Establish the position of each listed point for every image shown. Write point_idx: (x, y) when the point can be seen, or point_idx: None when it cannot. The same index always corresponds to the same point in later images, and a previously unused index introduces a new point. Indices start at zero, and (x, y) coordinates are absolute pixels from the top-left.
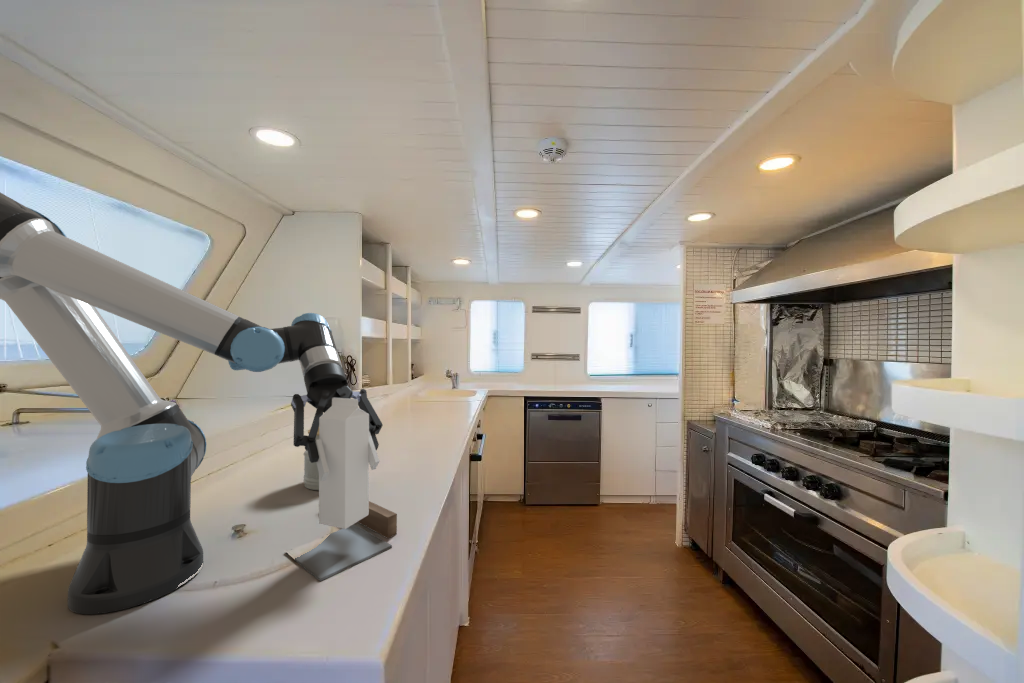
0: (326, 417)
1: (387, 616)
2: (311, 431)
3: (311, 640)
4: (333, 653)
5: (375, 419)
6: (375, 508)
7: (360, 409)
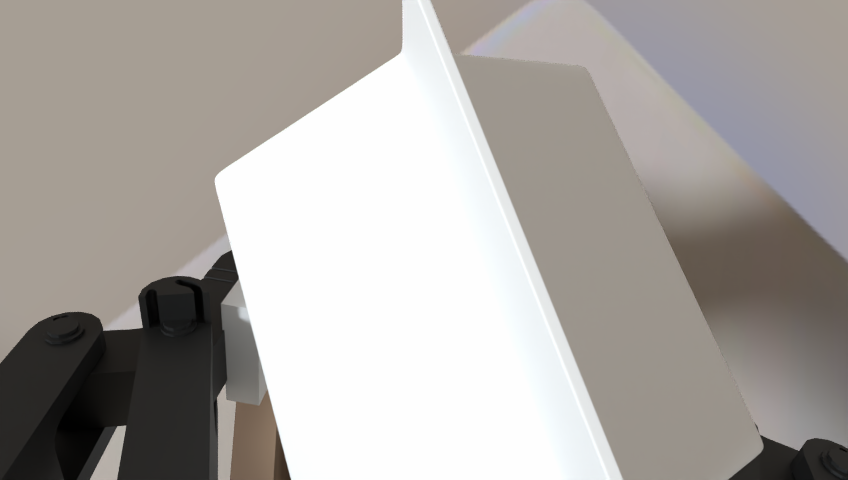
0: (706, 345)
1: (501, 43)
2: (745, 475)
3: (632, 92)
4: (615, 37)
5: (36, 387)
6: (260, 423)
7: (356, 87)
